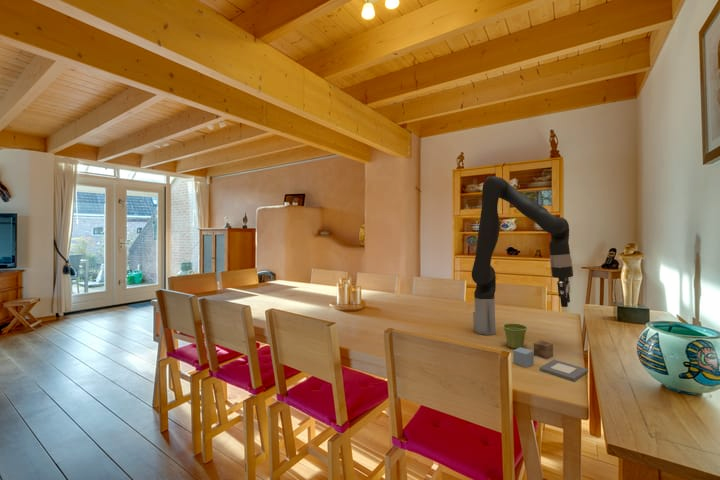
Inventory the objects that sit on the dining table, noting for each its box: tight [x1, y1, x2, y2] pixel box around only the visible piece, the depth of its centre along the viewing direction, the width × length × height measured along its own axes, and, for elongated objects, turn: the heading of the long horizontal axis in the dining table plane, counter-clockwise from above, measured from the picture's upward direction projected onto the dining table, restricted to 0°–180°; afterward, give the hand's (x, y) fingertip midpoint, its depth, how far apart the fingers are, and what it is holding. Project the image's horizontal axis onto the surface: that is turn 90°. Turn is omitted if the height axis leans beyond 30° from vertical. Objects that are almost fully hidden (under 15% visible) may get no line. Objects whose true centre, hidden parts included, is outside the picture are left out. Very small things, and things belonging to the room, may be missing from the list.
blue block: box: [512, 347, 535, 369], centre depth 120 cm, size 5×5×5 cm
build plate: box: [539, 359, 589, 382], centre depth 112 cm, size 11×11×1 cm
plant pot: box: [502, 322, 528, 349], centre depth 137 cm, size 9×9×9 cm
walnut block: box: [532, 339, 554, 360], centre depth 126 cm, size 5×5×5 cm
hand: (565, 304), depth 131 cm, fingers open, 8 cm apart
